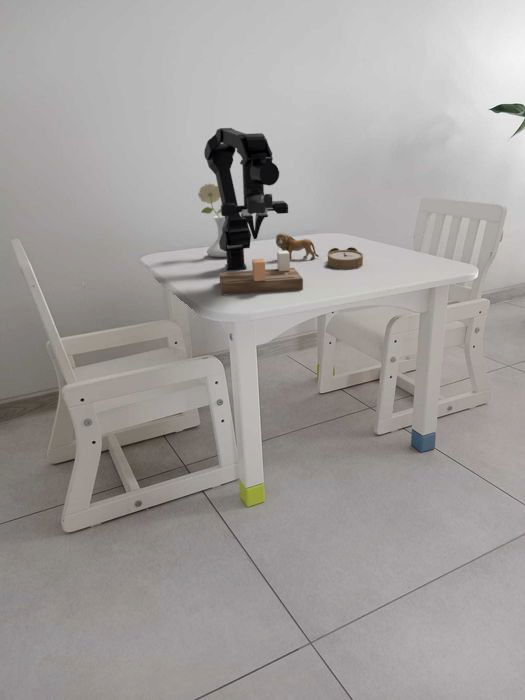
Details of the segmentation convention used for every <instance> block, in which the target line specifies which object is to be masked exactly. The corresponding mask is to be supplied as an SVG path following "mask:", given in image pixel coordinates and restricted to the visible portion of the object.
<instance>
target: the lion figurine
mask: <svg viewBox="0 0 525 700" xmlns="http://www.w3.org/2000/svg"><path fill="white" fill-rule="evenodd" d="M275 237H276V238H275V244H276V247H278V248H280V249H281V251H288V252H289V253H290V261H292V253H293V252H298V251H301V250H303V249H304V250H305V255H303V256H302V257H303V259H306V258H308V257H309V255H311V257H310V260H315V259H316V258H315V257H317V258H318V257H320V256H319V254H317V253H316V249H315V248H316V247H315V245H314V242H313V241H312V240H310V239H308V238H303V239H295V238H293V236H289V235H288V234H286V233H284V232H282V233H281V232H280V233H278V234H277V235H275Z"/></svg>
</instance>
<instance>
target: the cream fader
mask: <svg viewBox="0 0 525 700" xmlns="http://www.w3.org/2000/svg"><path fill="white" fill-rule="evenodd" d="M276 259H277V260H276V261H277V262H276V263H277V264H276V265H277V268H276V269H278V270H279V271H290V268H291V264H290V262H291V260H290V253H289V252H288V251H283V250H276Z"/></svg>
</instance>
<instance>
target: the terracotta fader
mask: <svg viewBox="0 0 525 700" xmlns="http://www.w3.org/2000/svg"><path fill="white" fill-rule="evenodd" d="M251 262H252V263H251V264H252V265H251V266H252V268H251V269H252V270H253V279H254V281H264V280H266V277H265V270H266V262H265V260H264V258H254V259H252V260H251Z"/></svg>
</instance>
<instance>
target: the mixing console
mask: <svg viewBox="0 0 525 700" xmlns="http://www.w3.org/2000/svg"><path fill="white" fill-rule="evenodd" d="M218 275H219V285H220V289H221V290H220V291H221V295H222V296H225V295H224V294H229V295H241V294H253V293H255V294H256V293H258V294H259V293H271V292H282V291H283V292H284V291H285V292H286V291H299V290H304V280H303V279H304V278H303V277H302V276H301V275H300V273H299V272H298V270H296V268H295V267H290V271H279V270H278V268H270V269H269V268H267V269H265V277H266V280H264V281H254V279H253V269H251V270H239V271H238V270H237V271H224V272H221V271H220V272H219V274H218Z"/></svg>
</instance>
